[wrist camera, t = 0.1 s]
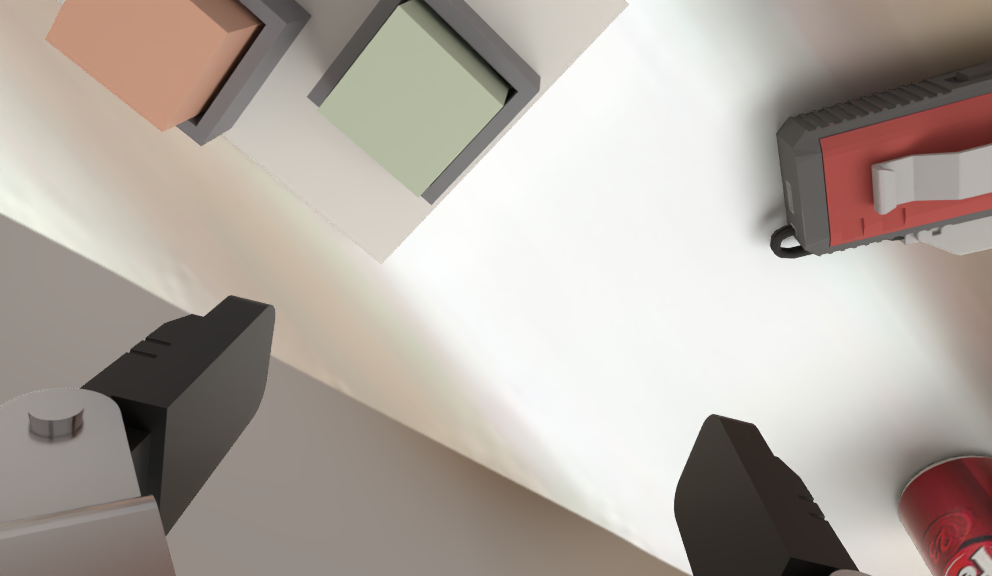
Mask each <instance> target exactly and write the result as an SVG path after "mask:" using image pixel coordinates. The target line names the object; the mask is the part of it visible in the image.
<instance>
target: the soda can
mask: <svg viewBox="0 0 992 576" xmlns="http://www.w3.org/2000/svg"><path fill="white" fill-rule="evenodd" d="M898 514H899V518H900V521H901V523H902V524H903V526H904V528H905V529H906V531H907V533H908V535H909V536H910V538H911V540H912V541H913V543H914V545H915V546H916V548H917V550H918V551H919V553H920V555H921V556H922V558H923V560H924V562H925V563H926V565H927V567H928V568H929V570H930V572H931V573H932V575H933V576H992V458H990V457H985V456H968V455H967V456H958V457H953V458H949V459H945V460H942V461H939V462H936V463H934V464H932V465H930V466H928V467H926V468H924V469H923V470H921V471H920V472H919V473H917V474H916V475H915V476H914V477H913V478H912V479H911V480H910V481H909V482H908V483H907V485H906V487H905V488H904V490H903V492H902V494H901V497H900V499H899V502H898Z"/></svg>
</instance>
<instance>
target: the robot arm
mask: <svg viewBox="0 0 992 576" xmlns="http://www.w3.org/2000/svg"><path fill="white" fill-rule="evenodd" d="M274 323H275V308H274V306H273V305H269V304H265V303H261V302H257V301H253V300H249V299H245V298H241V297H236V296H232V295H231V296H228V297H227V298H226V299H224V300H223V301H222V302H221V303H220V304H218V305H217V306H216V307H215V308H214V309H213V310H211V311H210V312H209V313H208V314H207V315H205V316H204V317H202V316H198V315H194V314H191V315H188V316H185V317H182V318H179V319H176V320H173V321H170V322H167V323H164V324H163V325H162V326H160V327H159V328H158V329H157V330H155V331H154V332H152V333H151V334H150V335H149V336H147V337H146V340H145V341H141V342H139V343H138V344H137V345H135V346H134V347H133V348H132V349H131V350H130V353H125V354H124V355H122V356H121V357H120V358H119V359H117V360H116V361H115V362H113V363H112V364H111V365H109V366H108V367H107V368H106V369H104V370H103V371H102V372H100V373H99V374H98V375H96V376H95V377H94V378H93V379H91V380H90V381H89V382H87V383H86V384H85V385H83V386H82V387H81V388H79V389H77V388H55V389H46V390H40V391H36V392H31V393H28V394H24V395H21V396H19V397H16V398H14V399H11V400H10V401H8V402H6V403H4V404H2V405H1V406H0V576H176V574H175V570H174V567H173V563H172V559H171V555H170V552H169V548H168V544H167V540H166V535H167V534H168V533H169V531H170V530H171V529H172V527H173V526H174V524H175V523H176V522H177V520H178V519H179V518H180V516H181V515H182V514H183V512H184V511H185V509H186V508H187V507H188V505H189V504H190V503H191V501H192V500H193V499H194V497H195V496H196V494H197V493H198V492H199V490H200V489H201V488H202V486H203V485H204V484H205V482H206V481H207V480H208V478H209V477H210V475H211V474H212V473H213V471H214V470H215V469H216V467H217V466H218V465H219V463H220V462H221V460H222V459H223V458H224V456H225V455H226V454H227V452H228V451H229V450H230V448H231V447H232V446H233V444H234V443H235V441H236V440H237V439H238V437H239V436H240V435H241V433H242V432H243V431H244V429H245V428H246V426H247V425H248V424H249V422H250V421H251V420H252V418H253V417H254V415H255V414H256V412H257V410H258V408H259V405H260V403H261V400H262V397H263V394H264V390H265V386H266V381H267V374H268V366H269V358H270V352H271V345H272V337H273V330H274ZM813 500H814V499H813V497H812V495H811V494H810V492H809V491H808V489H807V488H806V486H805V484H804V483H803V481H802V480H801V478H800V477H799V476H798V475H797V474H796V473H795V472H793V471H792V470H791V469H790V468H789V467H788V466H787V465H786V464H785V463H784V462H783V461H782V460H781V459H779V458H778V457H775V456H774V455H773V453H772V452H771V450H770V448H769V447H768V445H767V443H766V442H765V440H764V438H763V437H762V435H761V433H760V432H759V430H758V428H757V427H756V426H755V425H754V424H752V423H748V422H744V421H740V420H736V419H732V418H728V417H723V416H719V415H715V414H712V415H710V416H709V417H707V419H706V420H705V422H704V423H703V425H702V427H701V430H700V432H699V435H698V437H697V439H696V442H695V444H694V446H693V449H692V451H691V453H690V456H689V458H688V460H687V463H686V465H685V467H684V470H683V472H682V475H681V477H680V479H679V482H678V484H677V488H676V492H675V499H674V513H675V518H676V522H677V525H678V528H679V531H680V534H681V537H682V541H683V544H684V547H685V550H686V553H687V557H688V560H689V563H690V566H691V569H692V573H693V576H871V575H868V574H865V573H862V572H860V571H859V570H858V568H857V567H856V565H855V564H854V562H853V560H852V559H851V557H850V556H849V554H848V552H847V551H846V549H845V548H844V546H843V545H842V543H841V541H840V540H839V538H838V537H837V535H836V533H835V532H834V530H833V529H832V527H831V526H830V524H829V522H828V521H825V520H824V517H825V516H824V514H823V513H822V511H821V510H820V508H819V507H818V505H817V503H813Z"/></svg>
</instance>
